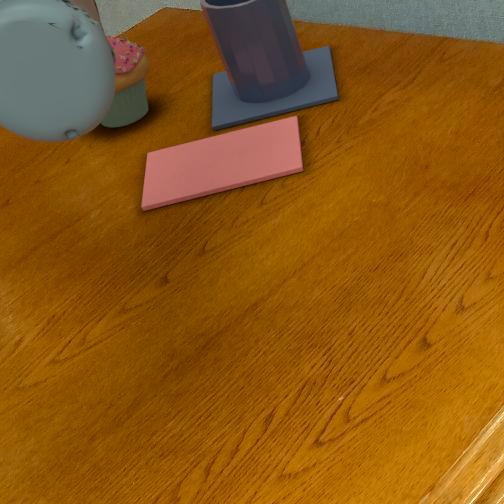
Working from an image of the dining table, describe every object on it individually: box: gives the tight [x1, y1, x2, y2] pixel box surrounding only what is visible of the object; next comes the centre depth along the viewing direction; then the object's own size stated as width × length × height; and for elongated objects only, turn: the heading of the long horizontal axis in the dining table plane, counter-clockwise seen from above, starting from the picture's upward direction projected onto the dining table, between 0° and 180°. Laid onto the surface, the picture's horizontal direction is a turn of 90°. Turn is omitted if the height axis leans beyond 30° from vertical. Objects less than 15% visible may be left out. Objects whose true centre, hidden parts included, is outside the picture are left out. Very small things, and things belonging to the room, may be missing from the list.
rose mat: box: [140, 115, 304, 212], centre depth 88 cm, size 14×10×1 cm
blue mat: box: [211, 45, 340, 131], centre depth 97 cm, size 12×12×1 cm
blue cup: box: [199, 0, 310, 103], centre depth 94 cm, size 7×7×9 cm
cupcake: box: [100, 34, 151, 128], centre depth 94 cm, size 9×8×12 cm
